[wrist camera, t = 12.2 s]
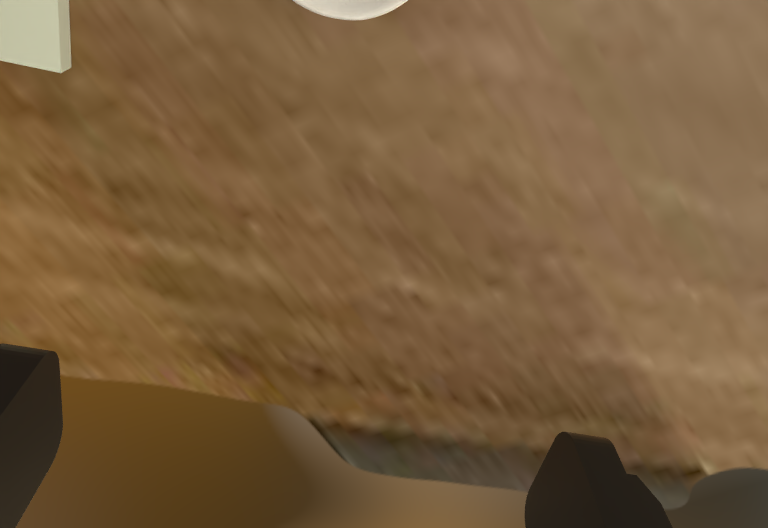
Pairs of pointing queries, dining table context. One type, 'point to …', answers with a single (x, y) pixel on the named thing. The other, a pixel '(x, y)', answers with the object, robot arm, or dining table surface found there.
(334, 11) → the spoon rest
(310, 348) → the dining table surface
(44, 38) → the pale green square stand
